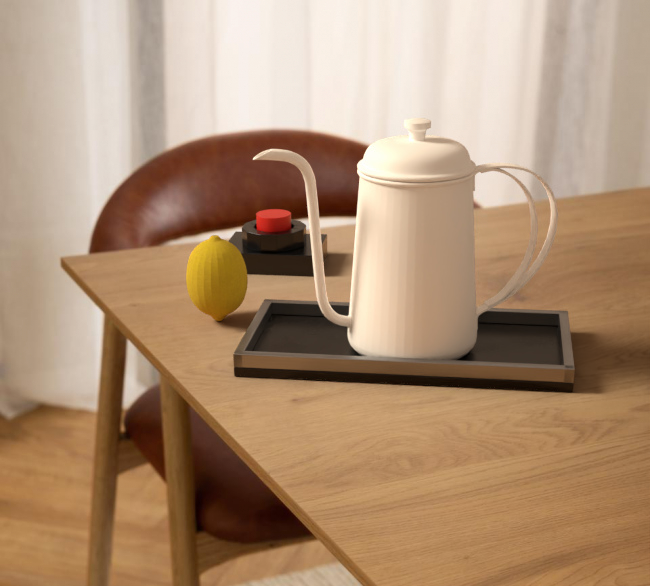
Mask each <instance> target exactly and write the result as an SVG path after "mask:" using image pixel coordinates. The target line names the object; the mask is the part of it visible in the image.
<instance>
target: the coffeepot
mask: <svg viewBox="0 0 650 586" xmlns="http://www.w3.org/2000/svg"><path fill="white" fill-rule="evenodd" d="M403 128H404V129H406V130H407V131H408V134H401V135H393V136H388V137H384V138H381V139H378V140H376V141H374V142H373V143H371V144H370V145H369V146H368V147H367V148H366V150H365V152H364V154H363V158H361V159H360V160H359V161H358V163H357V164H356V168H357V170H356V173H357V175H358V179H359V180H358V182H359V183H358V191H357V204H356V219H355V232H354V242H353V243H354V244H353V254H352V255H353V257H352V268H351V269H352V270H351V283H350V295H349V296H350V297H349V302H350V306H349V315H348V316H344V315H340V314H338V313H336V312H335V311H334V310H333V309H332V307H331V306H330V304H329V302H330V301H329V299H328V294H327V286H326V277H325V275H326V274H325V266H324V265H325V264H324V262H323V253H322V242H321V234H322V233H321V220H320V210H319V199H318V190H317V181H316V176H315V172H314V170H313V168H312V166H311V164H310V162H308V160H307V159H306V158H304V156H302V155H300V154H299V153H297V152H294V151H292V150H288V149H281V148H269V149H266V150H263V151H261V152H259V153H257V154H256V155H255V156H253V158H252V161H277V162H285V163H289V164H291V165H293V166H295V167H296V168H297V169H298V170H299V171H300V173H301V175H302V179H303V180H304V187H305V195H306V196H305V197H306V205H307V206H306V208H307V215H308V216H307V217H308V218H307V219H308V227H309V234H310V239H311V250H312V260H313V270H314V277H313V279H314V288H315V297H316V301H318V304H319V307H320V309H321V311H322V313H323V314H324V316H325V317H326V318H327V319H328V320H329V321H331V322H333V323H335V324H337V325H340V326H346V327H348V340H349V343H350V345H351V346H352V347H353V349H354V350H355V351H356V352H358V353H359V354H360V355H362V356H369V357H392V358H414V359H436V360H457V359H459V358H461V357H463V356H464V355H466V354H467V353H468V352H469V351H470V350H471V349H472V348H473V347H474V345H475V343H476V339H477V330H478V317H479V315H480V314H482V313H483V312H485V311H487V310H489V309H491V308H496V307H497V306H499V305H500V304H502V303H504V302H506V301H507V300H509V299H511V298H512V297H513V296H514V295H515V294H517V293H518V292H519V291H520V290H522V289H523V288H524V287H525V286H526V285H527V284H528V283H529V282H530V281H531V280H532V279H533V277H534V276H535V275H536V274H537V273H538V271H540V269H541V267H542V266H543V264H544V262H545V261H546V259H547V257H548V256H549V253H550V251H551V249H552V247H553V244H554V242H555V238H556V234H557V231H558V221H559V211H558V203H557V200H556V197H555V194H554V192H553V190H552V188H551V187H550V185H549V184H548V182H547V181H546V180H545V179H544V178H543V177H542V176H541V175H539V174H537V172H534V171H532V170H531V169H529V168H528V167H525V166H522V165H520V164H516V163H510V162H488V163H487V162H486V163H482V164H479V165H477V164H476V163H475V162H474V161H473V160H472V159H471V155H470V153H469V151H468V149H467V147H466V146H465V145H464V144H462V143H461V142H460V141H458V140H455V139H452V138H449V137H445V136H441V135H432V134H427V130H429V129H431V128H432V120H431V119H428V118H425V117H424V118H423V117H411V118H407V119H404V121H403ZM504 169H513V170H519V171H523V172H525V173H529V174H532V175H533V176H534V177H535V178H536V179H537V180H538V181H539V182H540V183H541V184H542V186H543V188H544V189H545V192H546V195H547V197H548V200H549V207H550V219H549V225H548V230H547V233H546V237H545V239H544V242H543V245H542V247H541V249H540V251H539V253H538V255H537V256H536V258H535V260H534V261H533V263H532V264H531V262H532V260H533V257H534V254H535V251H536V246H537V242H538V232H539V225H538V223H539V221H538V212H537V208H536V204H535V201H534V198H533V196H532V193H531V192H530V191H529V189H528V188H527V186H526V185H525V184H524V183H523V182H522V181H521V180H520V179H518V178H517V177H516V176H515V175H513V174H511V173H510V172H509V171H507V170H504ZM489 172H498V173H501V174H504V175H506V176H508V177H510V178H511V179H512V180H514V181H515V183H516V184H518V186H519V187H520V188H521V190H522V191H523V194H524V196H525V197H526V201H527V205H528V207H529V216H530V232H529V239H528V244H527V248H526V251H525V253H524V256H523V259H522V260H521V263H520V264H519V266H518V267H517V269H516V270H515V272H514V274H513V275H512V276H511V278H510V279H509V280H508V281H507V283H506V284H505V285H504V286H503V287H502V288H501V289H500V291H498V292H496V294H495V295H494V296H492V297H490V298H488V299H485V300H484V301H483V303H482V304H480V305H478V306H477V282H476V281H477V280H476V279H477V278H476V275H477V274H476V245H475V243H476V239H475V238H476V236H475V203H474V202H475V201H474V192H475V191H476V176H477V174H478V173H481V174H485V173H489ZM530 264H531V265H530ZM529 266H530V267H529Z"/></svg>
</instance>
